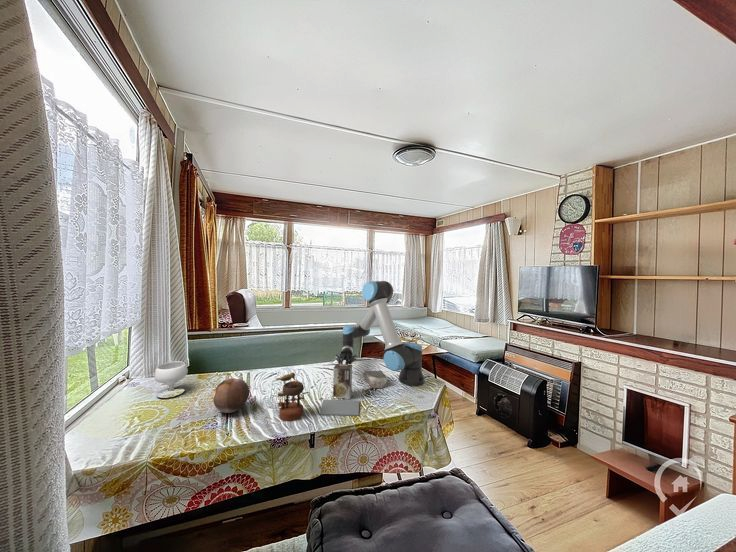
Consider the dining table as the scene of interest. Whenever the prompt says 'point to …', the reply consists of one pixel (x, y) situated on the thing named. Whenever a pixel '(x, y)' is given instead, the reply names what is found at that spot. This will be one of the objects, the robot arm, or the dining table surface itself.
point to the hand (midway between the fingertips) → (343, 366)
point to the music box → (291, 409)
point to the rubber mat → (340, 408)
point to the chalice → (171, 373)
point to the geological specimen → (376, 379)
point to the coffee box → (342, 381)
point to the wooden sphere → (231, 395)
